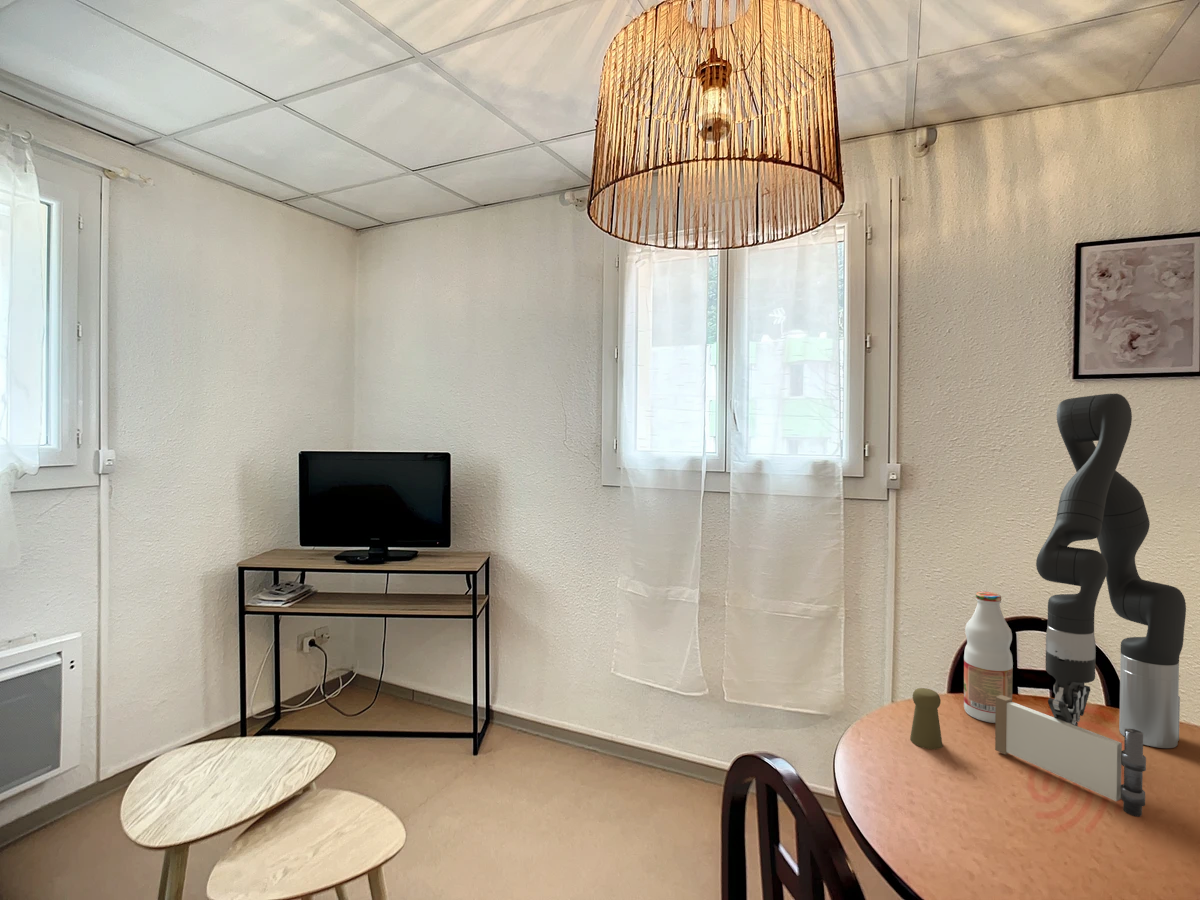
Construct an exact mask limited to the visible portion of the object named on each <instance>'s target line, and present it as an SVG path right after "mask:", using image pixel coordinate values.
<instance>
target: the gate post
mask: <svg viewBox="0 0 1200 900" xmlns="http://www.w3.org/2000/svg"><path fill="white" fill-rule="evenodd" d="M1121 766H1122V767H1123V783H1121V799H1120V800H1122V801H1123V805H1122V807H1123V810H1122V811H1124V812H1125V814H1127V815H1129V816H1131V817H1132V816H1133V817H1138V818H1140V817H1142V816H1143V807H1144V806H1146V791H1145V790H1144V789H1143V772H1146V771H1147V768H1146V767H1147V757H1146V756H1145V754H1144V744H1143V733H1142V732H1140V731H1138V730H1135V729H1125V736H1124V748H1123V749H1122V751H1121Z"/></svg>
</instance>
